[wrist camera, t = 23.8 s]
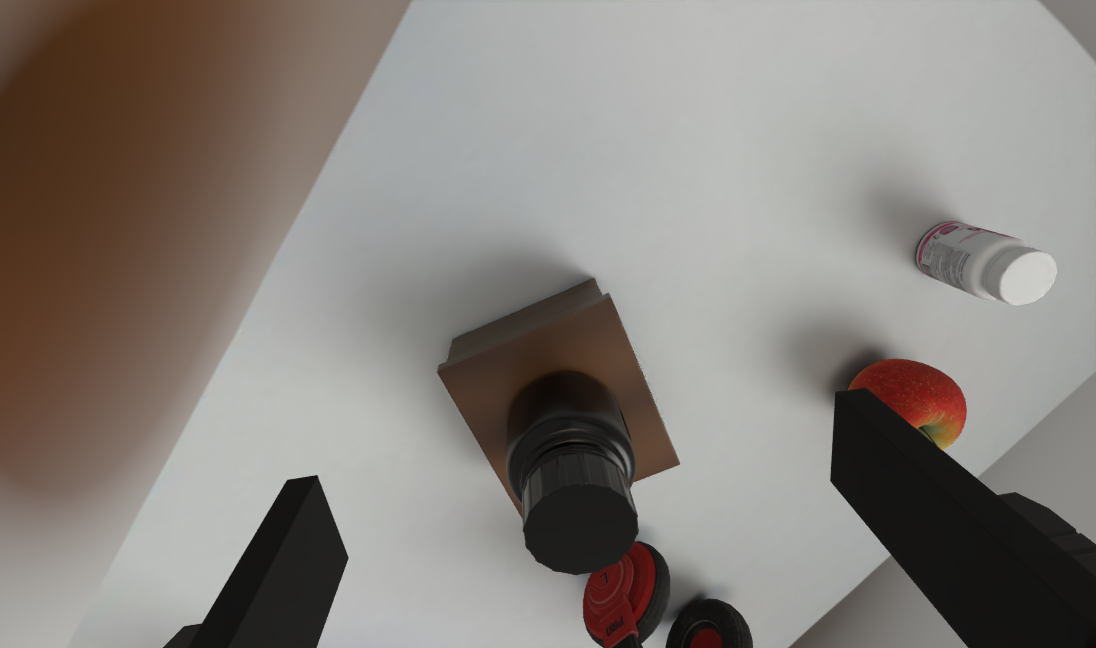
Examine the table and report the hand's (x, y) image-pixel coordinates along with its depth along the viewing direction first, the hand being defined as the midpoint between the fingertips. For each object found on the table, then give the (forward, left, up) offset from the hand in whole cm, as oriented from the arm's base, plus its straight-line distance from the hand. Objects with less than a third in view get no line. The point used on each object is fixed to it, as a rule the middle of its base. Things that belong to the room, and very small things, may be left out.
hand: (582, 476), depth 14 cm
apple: (+26, +22, -32) cm, 47 cm away
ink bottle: (+14, -4, -26) cm, 30 cm away
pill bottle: (+16, +30, -32) cm, 47 cm away
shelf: (+14, -4, -32) cm, 35 cm away
